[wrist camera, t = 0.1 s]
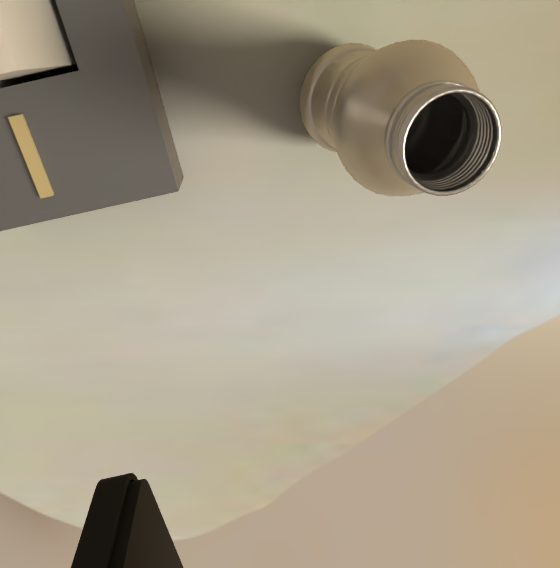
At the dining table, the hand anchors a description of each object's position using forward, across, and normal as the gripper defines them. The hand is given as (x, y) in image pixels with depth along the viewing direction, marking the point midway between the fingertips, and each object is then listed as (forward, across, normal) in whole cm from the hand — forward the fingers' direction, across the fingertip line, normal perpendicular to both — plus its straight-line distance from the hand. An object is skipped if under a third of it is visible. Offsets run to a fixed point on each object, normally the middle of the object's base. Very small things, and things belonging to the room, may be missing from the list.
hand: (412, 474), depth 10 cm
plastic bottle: (+31, -5, -3) cm, 32 cm away
